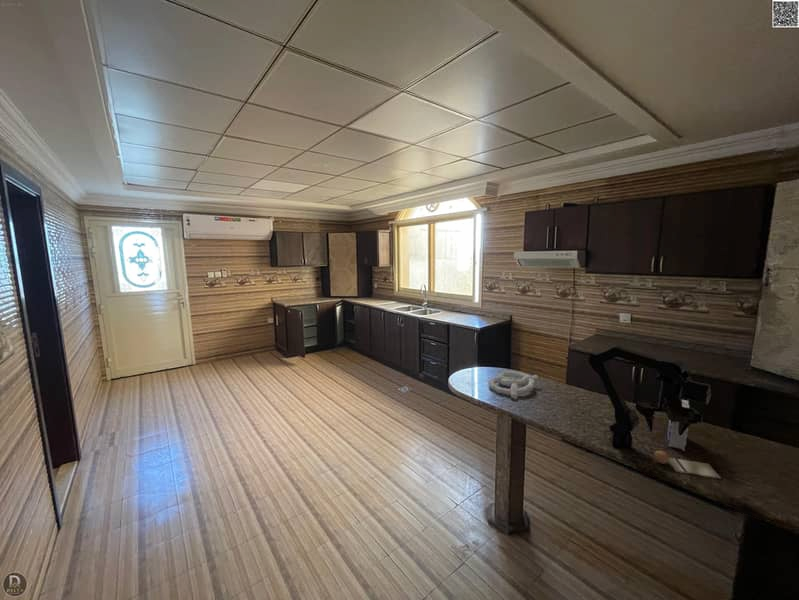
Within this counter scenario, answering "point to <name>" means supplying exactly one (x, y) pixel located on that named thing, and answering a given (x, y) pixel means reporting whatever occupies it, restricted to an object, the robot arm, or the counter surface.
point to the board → (693, 468)
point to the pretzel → (513, 383)
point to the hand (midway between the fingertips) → (665, 432)
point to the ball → (661, 457)
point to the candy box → (673, 435)
